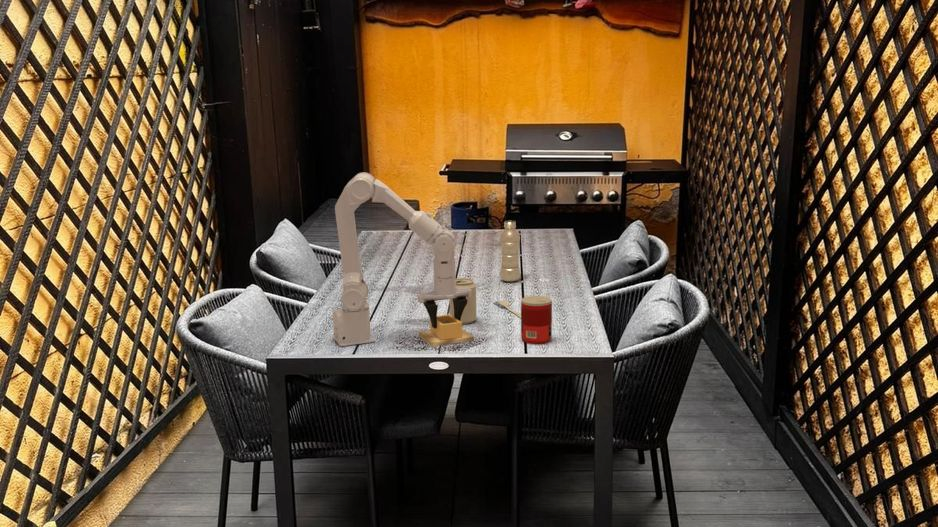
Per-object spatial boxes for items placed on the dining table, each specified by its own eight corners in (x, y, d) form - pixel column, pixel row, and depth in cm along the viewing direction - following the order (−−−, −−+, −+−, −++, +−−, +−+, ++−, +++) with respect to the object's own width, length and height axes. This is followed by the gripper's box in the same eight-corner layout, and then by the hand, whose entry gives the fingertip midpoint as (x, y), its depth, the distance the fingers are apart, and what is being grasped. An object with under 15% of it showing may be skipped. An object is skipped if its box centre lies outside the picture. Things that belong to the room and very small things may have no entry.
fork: (523, 329, 249) (523, 320, 248) (490, 304, 266) (490, 295, 265) (531, 328, 250) (532, 319, 249) (498, 302, 268) (499, 294, 267)
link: (441, 339, 228) (441, 325, 228) (430, 331, 236) (430, 316, 235) (462, 337, 231) (461, 322, 230) (450, 328, 238) (450, 314, 237)
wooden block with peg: (431, 346, 227) (430, 330, 226) (418, 335, 236) (418, 319, 235) (474, 340, 231) (473, 324, 230) (459, 330, 240) (459, 314, 239)
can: (461, 315, 254) (460, 275, 251) (481, 320, 249) (481, 279, 246) (444, 321, 248) (443, 280, 245) (464, 326, 244) (464, 284, 241)
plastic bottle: (498, 279, 294) (498, 220, 290) (518, 278, 295) (518, 219, 290) (501, 284, 288) (500, 223, 284) (521, 283, 289) (521, 223, 284)
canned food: (556, 342, 229) (556, 302, 226) (527, 345, 226) (527, 304, 224) (545, 334, 236) (545, 294, 233) (517, 337, 234) (517, 297, 231)
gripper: (423, 282, 223) (425, 333, 227) (476, 276, 229) (476, 326, 232) (414, 276, 230) (416, 326, 233) (465, 270, 235) (466, 319, 238)
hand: (445, 325), depth 233 cm, fingers closed on link, 6 cm apart
